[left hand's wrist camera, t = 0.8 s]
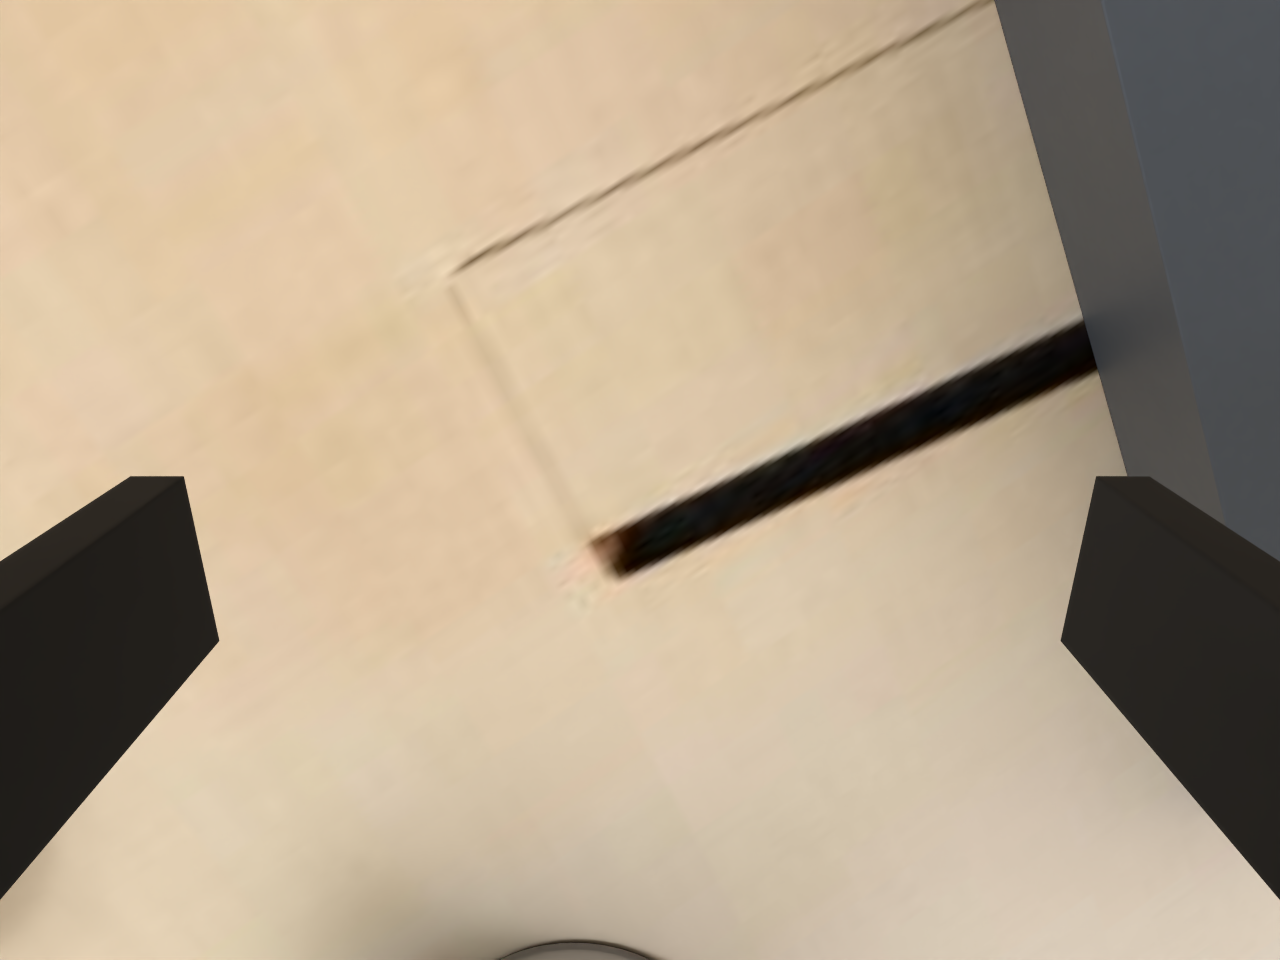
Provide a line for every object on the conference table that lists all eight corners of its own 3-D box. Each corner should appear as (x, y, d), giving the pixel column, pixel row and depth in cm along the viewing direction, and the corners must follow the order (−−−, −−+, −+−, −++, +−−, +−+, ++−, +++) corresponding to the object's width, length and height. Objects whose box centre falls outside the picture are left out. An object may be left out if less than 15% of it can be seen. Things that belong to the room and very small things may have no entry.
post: (1324, 779, 44) (1447, 894, 38) (1221, 813, 45) (1323, 931, 38) (1064, -419, 26) (1209, -610, 20) (902, -325, 27) (987, -476, 21)
